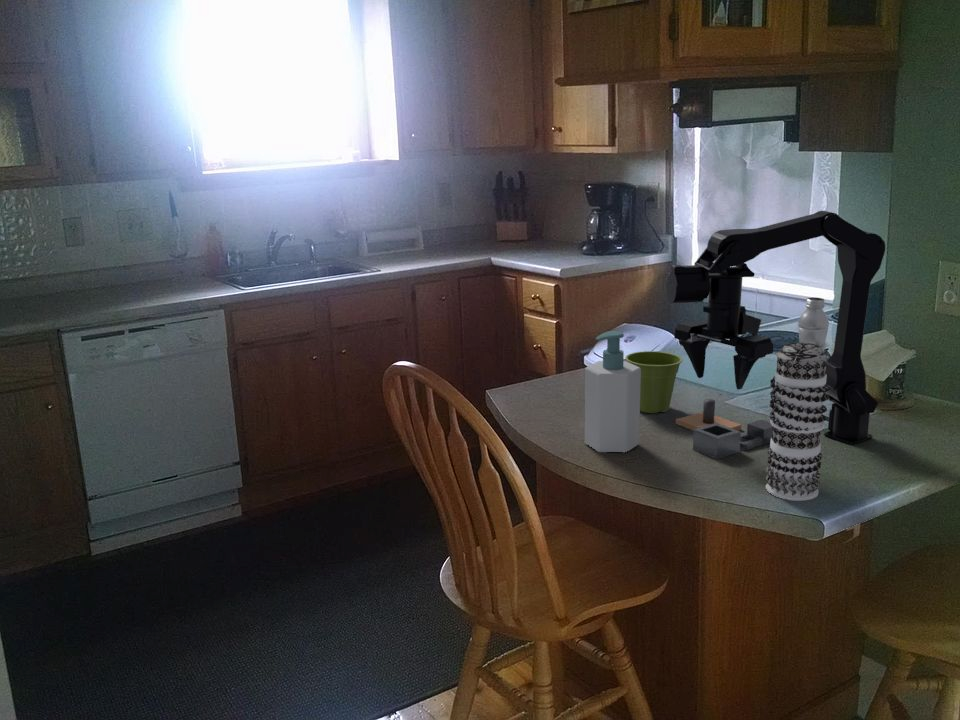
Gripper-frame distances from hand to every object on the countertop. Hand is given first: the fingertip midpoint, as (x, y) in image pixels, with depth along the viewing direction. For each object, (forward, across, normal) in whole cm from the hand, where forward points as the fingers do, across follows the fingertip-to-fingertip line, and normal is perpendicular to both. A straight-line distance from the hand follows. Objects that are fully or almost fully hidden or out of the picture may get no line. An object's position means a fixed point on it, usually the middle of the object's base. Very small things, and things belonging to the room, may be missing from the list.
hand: (719, 383), depth 170 cm
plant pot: (+13, +23, -7) cm, 27 cm away
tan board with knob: (+12, +8, -7) cm, 16 cm away
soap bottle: (+13, +13, +15) cm, 23 cm away
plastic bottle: (+12, +12, -46) cm, 49 cm away
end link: (+12, -2, +2) cm, 13 cm away
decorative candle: (+13, -22, +6) cm, 26 cm away
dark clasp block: (+12, -3, -7) cm, 14 cm away
